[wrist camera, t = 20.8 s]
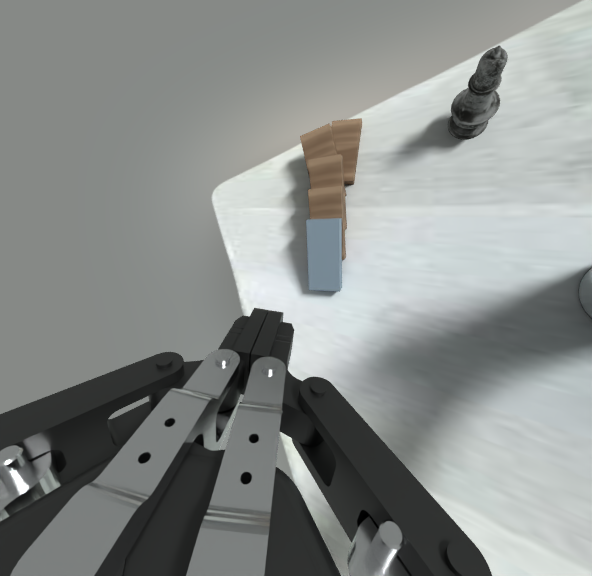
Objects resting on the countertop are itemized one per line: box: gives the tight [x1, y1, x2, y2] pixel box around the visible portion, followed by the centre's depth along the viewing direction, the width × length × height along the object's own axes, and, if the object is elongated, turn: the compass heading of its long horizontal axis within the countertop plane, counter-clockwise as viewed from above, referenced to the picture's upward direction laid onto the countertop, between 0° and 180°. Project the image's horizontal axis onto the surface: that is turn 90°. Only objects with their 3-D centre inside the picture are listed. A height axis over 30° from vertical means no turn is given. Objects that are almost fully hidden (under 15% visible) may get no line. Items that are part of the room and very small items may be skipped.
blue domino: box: [306, 218, 342, 291], centre depth 42 cm, size 2×5×11 cm
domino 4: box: [331, 118, 362, 184], centre depth 46 cm, size 2×5×11 cm
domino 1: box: [300, 124, 346, 196], centre depth 44 cm, size 2×5×11 cm
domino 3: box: [308, 186, 346, 260], centre depth 42 cm, size 2×5×11 cm
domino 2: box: [308, 154, 347, 229], centre depth 43 cm, size 2×5×11 cm
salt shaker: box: [448, 46, 508, 139], centre depth 35 cm, size 6×6×12 cm
